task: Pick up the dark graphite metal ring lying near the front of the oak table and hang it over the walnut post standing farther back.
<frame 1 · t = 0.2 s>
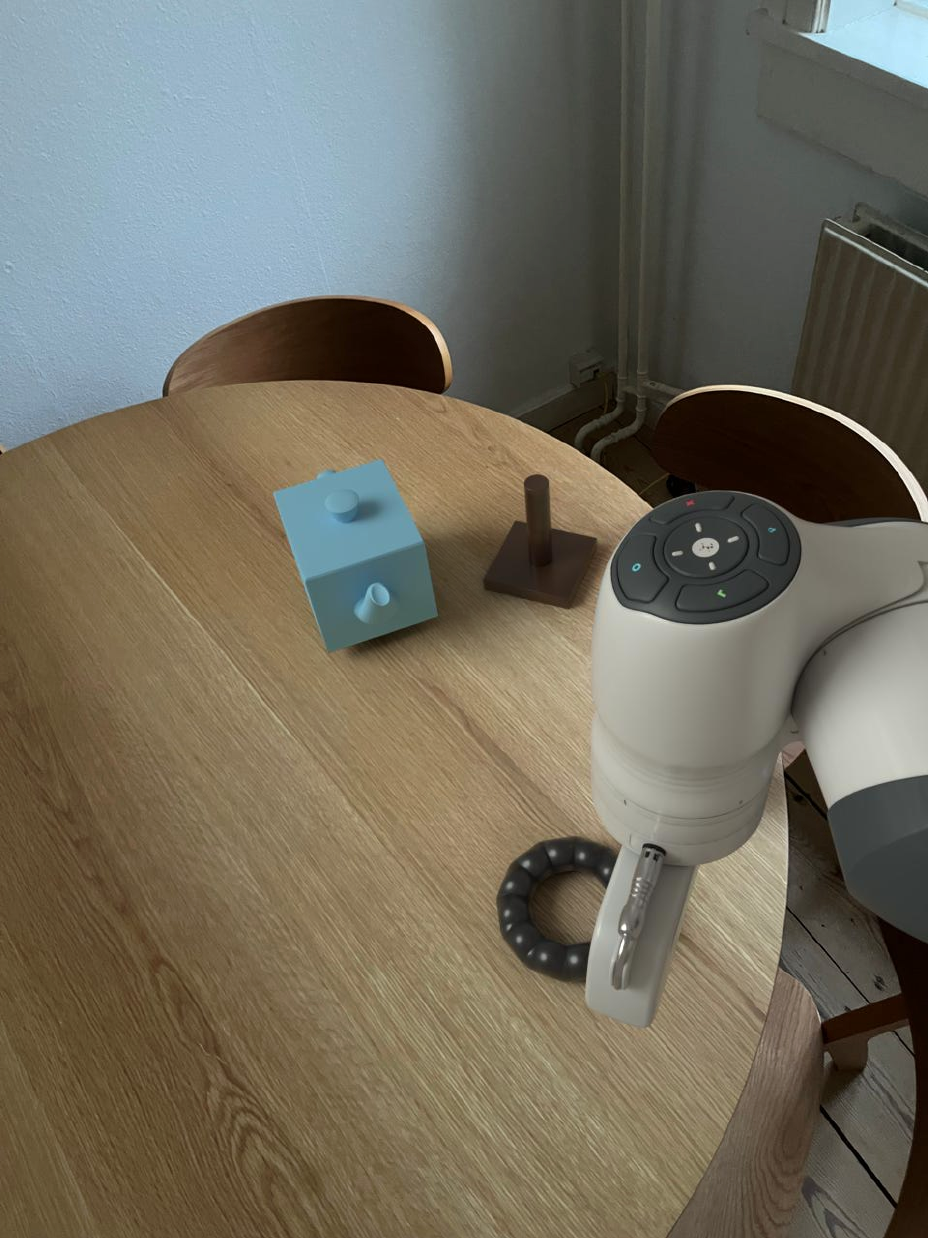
hand: (663, 894, 59), 15 cm above the table, tool pointing down, fingers open, 8 cm apart
candle: (677, 805, 79), on the table
teapot: (372, 614, 97), on the table
ring: (571, 906, 73), point 1 cm above the table
stand: (541, 568, 99), on the table
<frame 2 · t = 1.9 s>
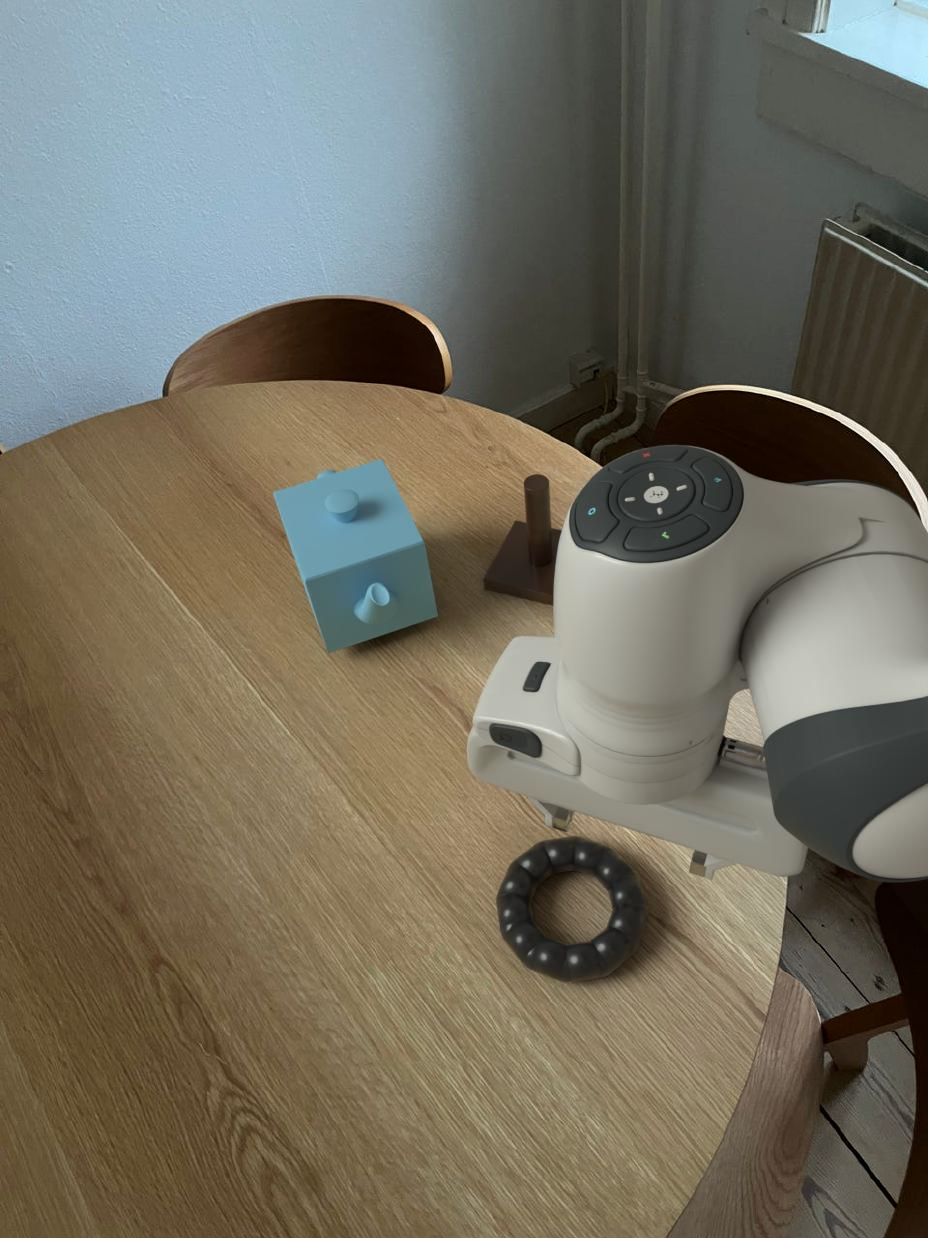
hand: (630, 843, 62), 14 cm above the table, tool pointing down, fingers open, 8 cm apart
nothing on the table moved.
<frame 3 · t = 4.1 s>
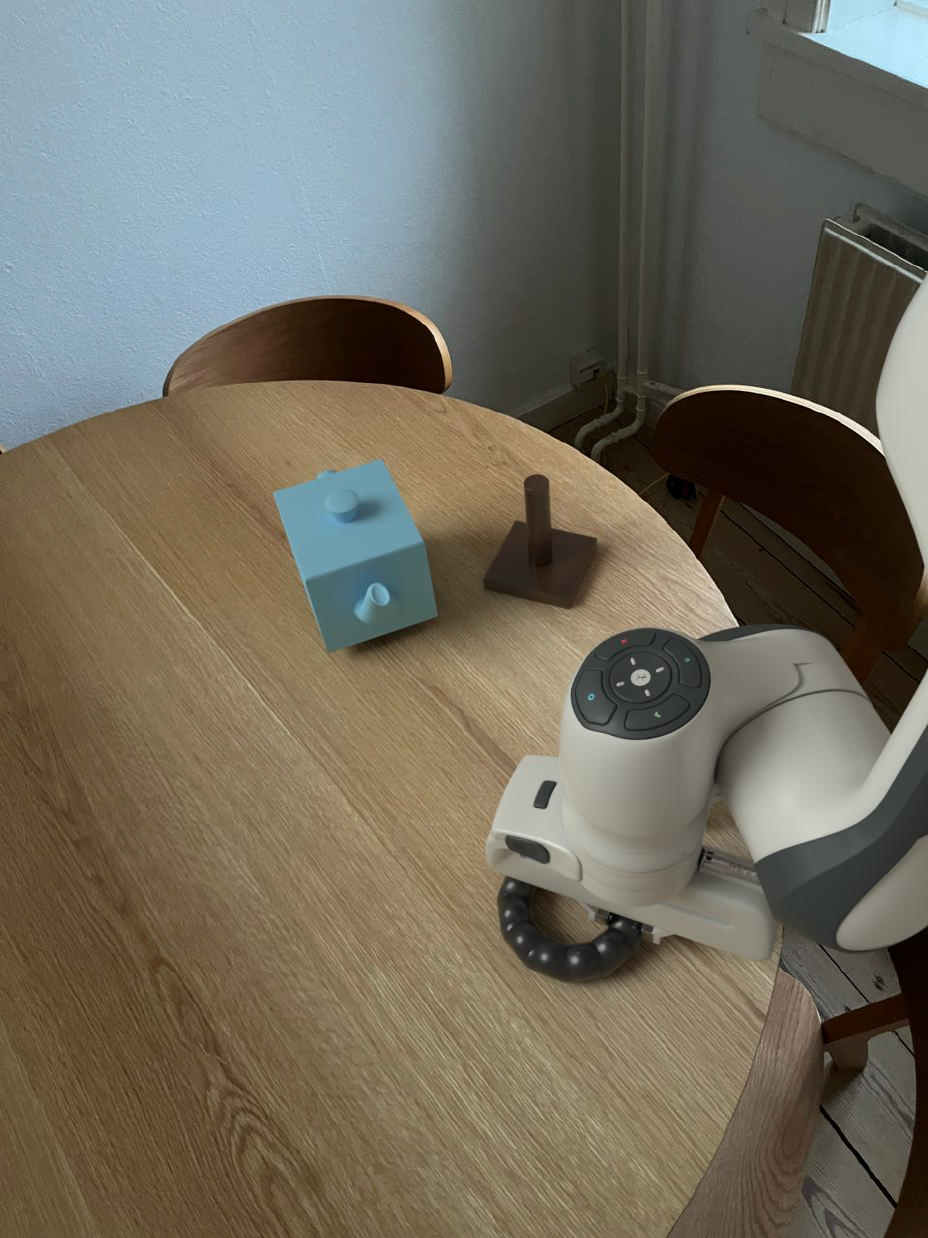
hand: (626, 923, 71), 2 cm above the table, tool pointing down, fingers closed on ring, 2 cm apart
ring: (572, 906, 73), point 1 cm above the table, touching gripper
everything else where it was.
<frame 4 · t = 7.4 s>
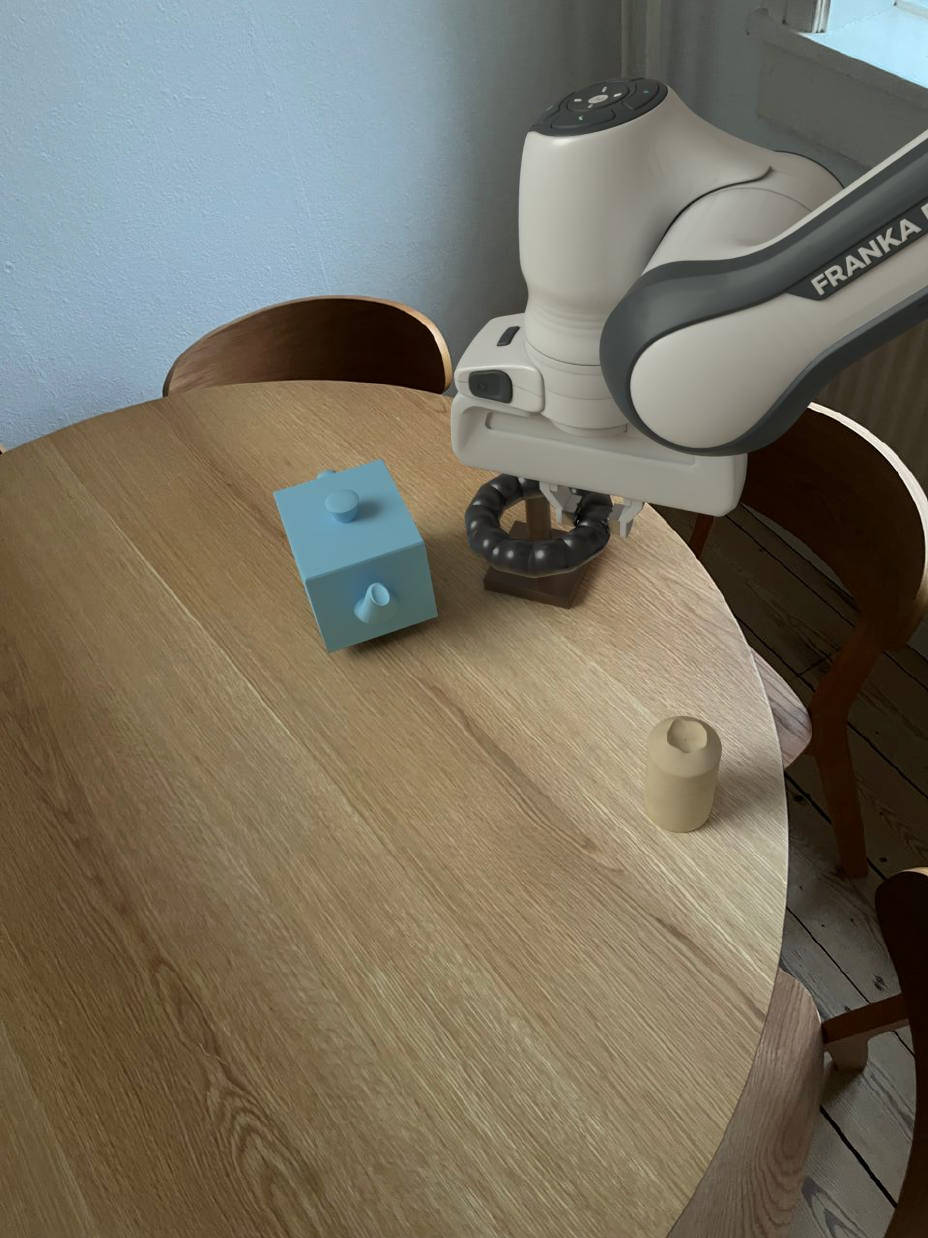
hand: (593, 525, 71), 22 cm above the table, tool pointing down, fingers closed on ring, 2 cm apart
ring: (539, 518, 73), point 21 cm above the table, touching gripper
everything else where it was.
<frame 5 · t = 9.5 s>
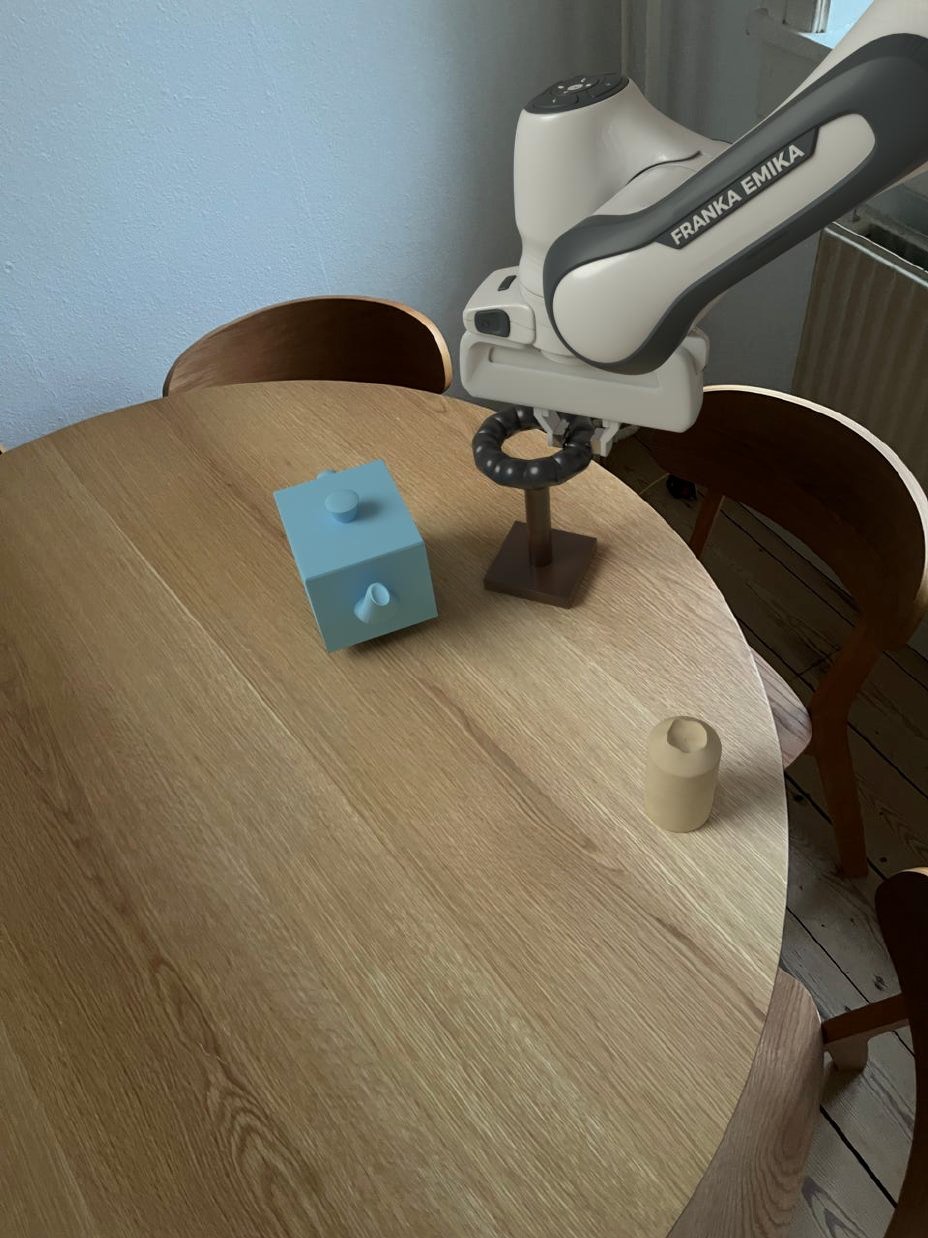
hand: (579, 447, 85), 17 cm above the table, tool pointing down, fingers closed on ring, 2 cm apart
ring: (534, 443, 87), point 16 cm above the table, touching gripper
everything else where it was.
when the fingers open (12 cm above the table, at t = 11.2 s): ring drops 8 cm, resting on stand.
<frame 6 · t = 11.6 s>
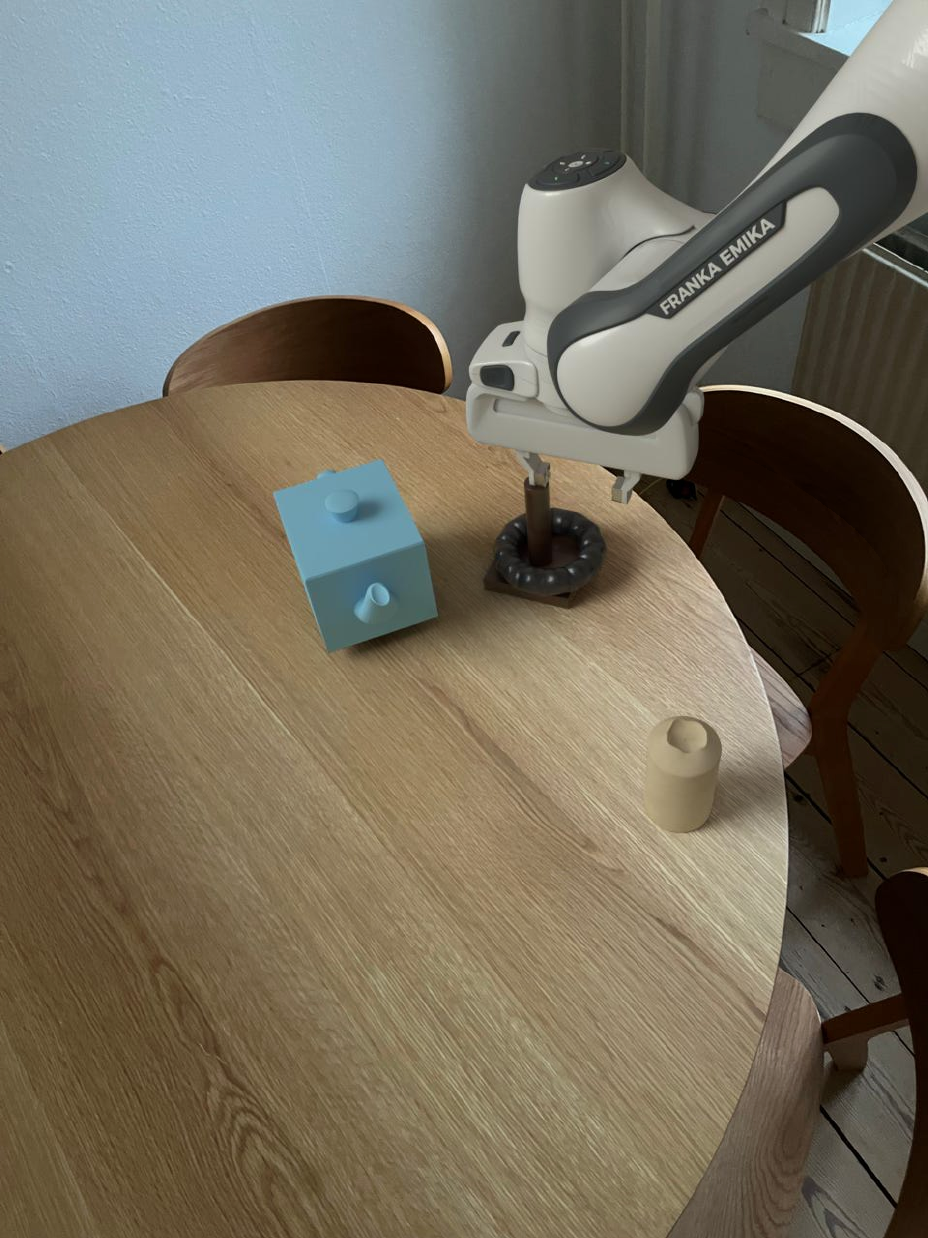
hand: (580, 490, 89), 12 cm above the table, tool pointing down, fingers open, 6 cm apart
ring: (549, 550, 96), point 3 cm above the table, touching stand
everything else where it was.
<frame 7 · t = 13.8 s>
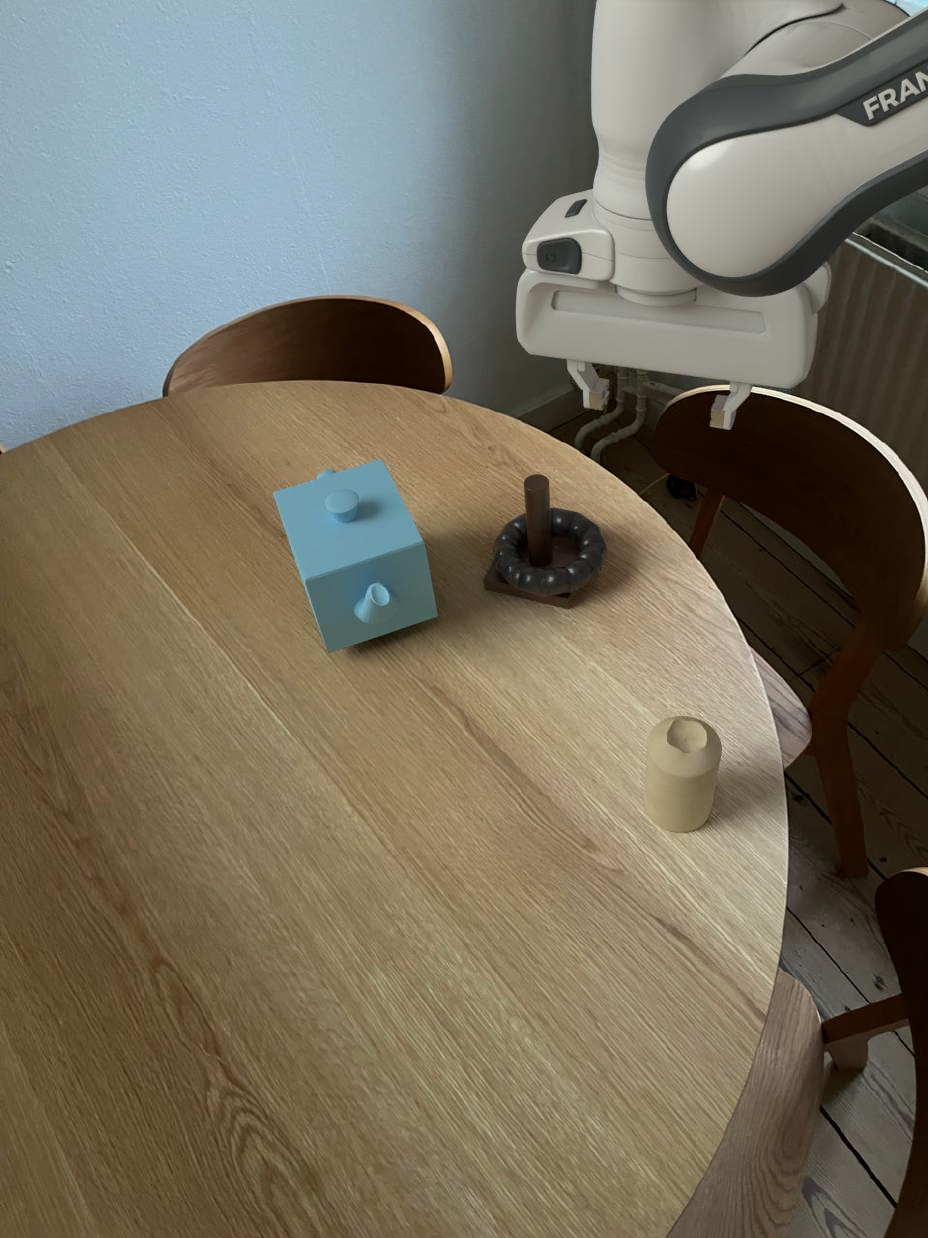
hand: (658, 414, 71), 27 cm above the table, tool pointing down, fingers open, 8 cm apart
nothing on the table moved.
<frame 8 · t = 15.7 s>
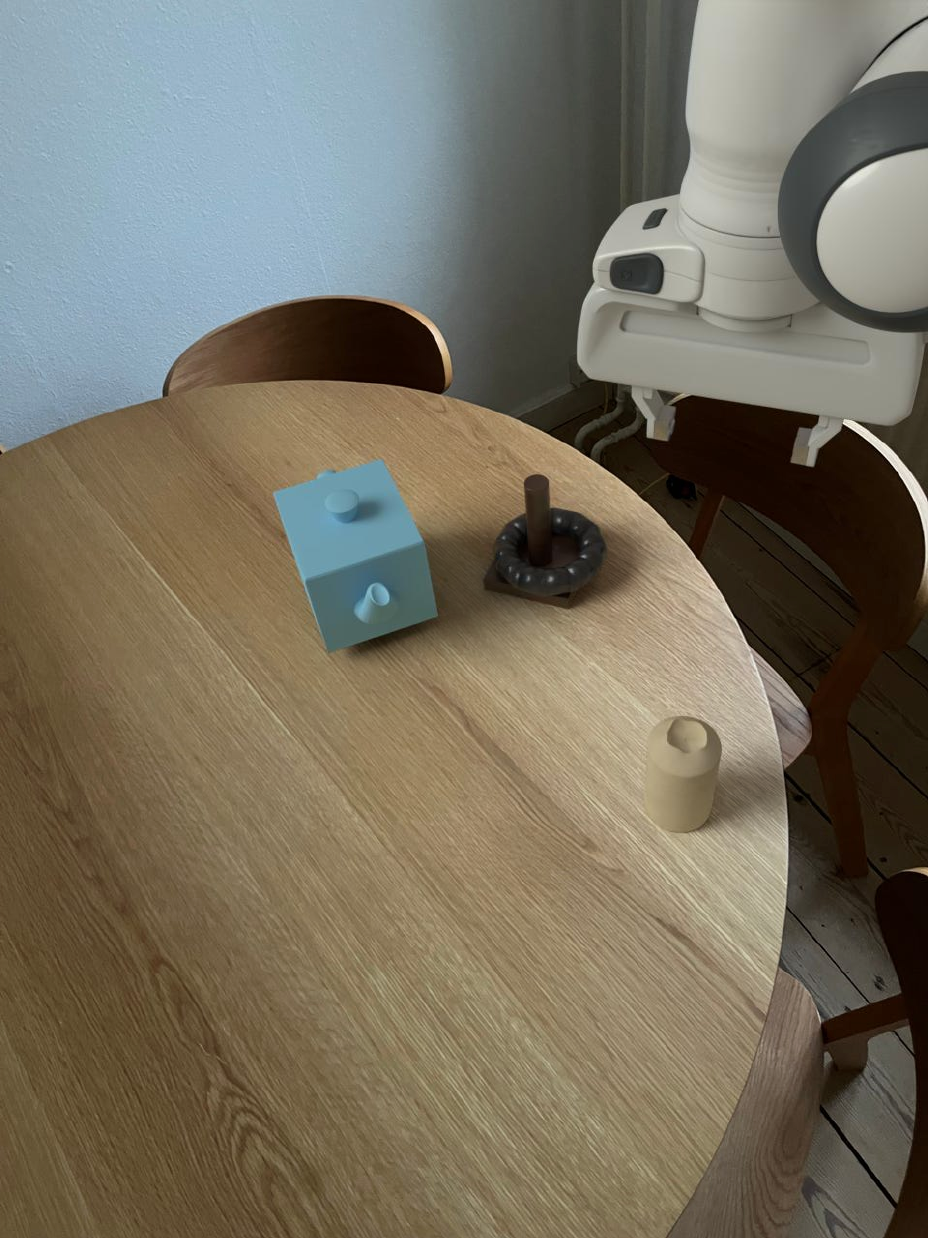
hand: (730, 446, 64), 29 cm above the table, tool pointing down, fingers open, 8 cm apart
nothing on the table moved.
at the end: ring 1.0 cm off-centre on the stand, point 2.8 cm above the stand's base; the gripper is holding nothing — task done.
